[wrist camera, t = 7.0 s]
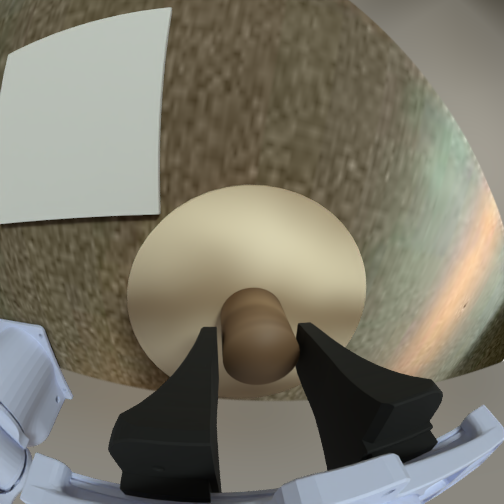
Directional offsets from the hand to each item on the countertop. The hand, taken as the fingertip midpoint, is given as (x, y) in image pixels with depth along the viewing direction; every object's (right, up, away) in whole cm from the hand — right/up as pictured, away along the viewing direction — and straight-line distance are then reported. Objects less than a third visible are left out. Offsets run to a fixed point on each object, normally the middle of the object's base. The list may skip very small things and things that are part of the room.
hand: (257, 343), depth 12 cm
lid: (0, +1, +3) cm, 3 cm away
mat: (-14, +14, +2) cm, 19 cm away
